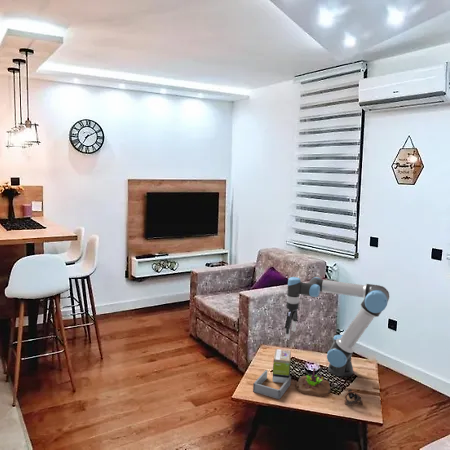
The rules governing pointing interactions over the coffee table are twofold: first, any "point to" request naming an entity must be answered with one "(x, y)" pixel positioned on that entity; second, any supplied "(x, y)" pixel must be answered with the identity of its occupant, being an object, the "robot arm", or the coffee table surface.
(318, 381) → the plant
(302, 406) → the coffee table surface
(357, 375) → the coffee table surface
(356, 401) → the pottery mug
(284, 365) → the tea box
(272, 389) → the box
